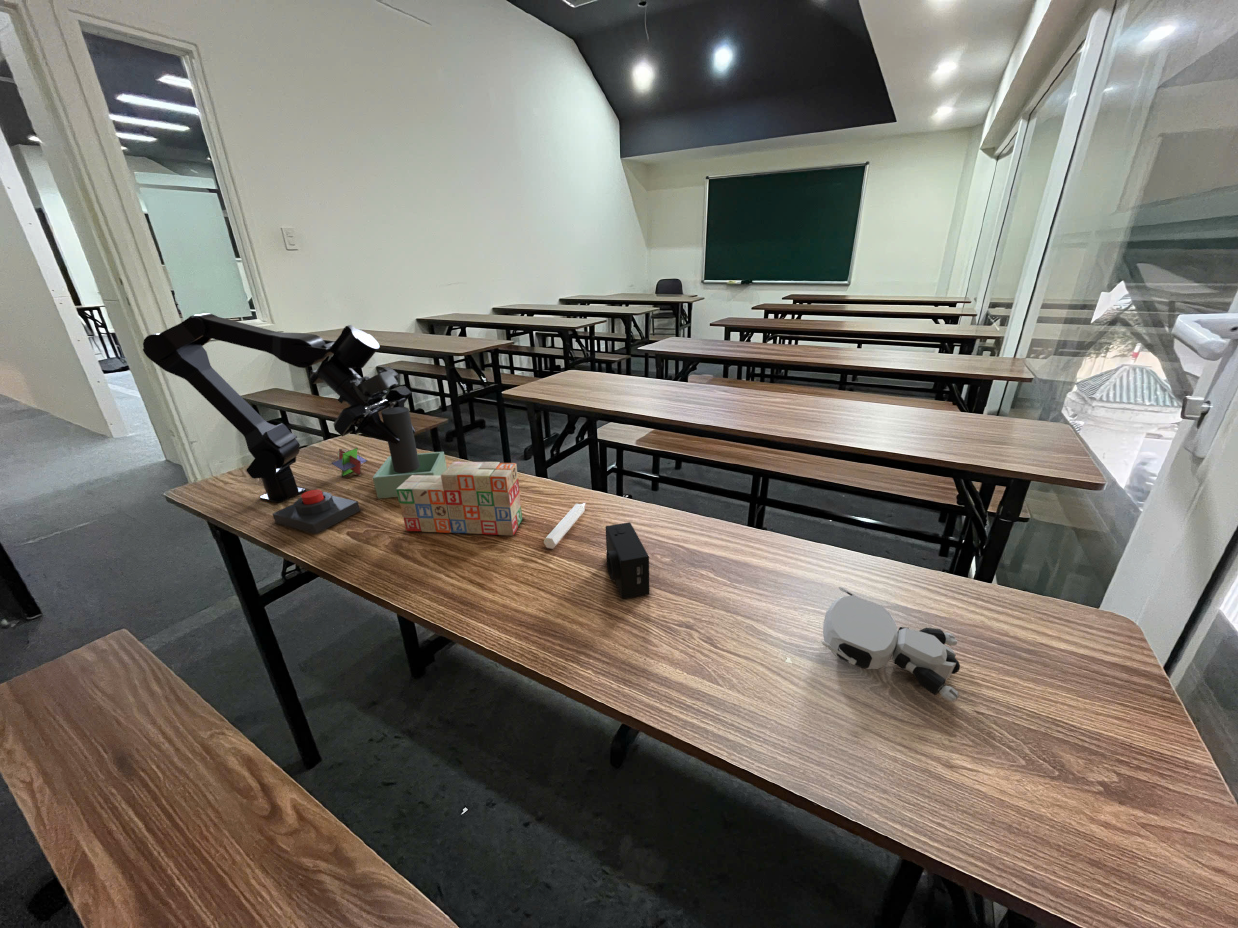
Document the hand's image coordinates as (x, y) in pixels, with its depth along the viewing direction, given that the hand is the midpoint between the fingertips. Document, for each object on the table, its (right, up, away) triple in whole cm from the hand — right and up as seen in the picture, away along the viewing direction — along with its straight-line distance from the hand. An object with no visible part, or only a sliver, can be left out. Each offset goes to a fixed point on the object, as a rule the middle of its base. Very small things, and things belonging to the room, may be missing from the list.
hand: (406, 437), depth 101 cm
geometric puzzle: (-21, -8, +17) cm, 28 cm away
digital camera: (+45, -24, -24) cm, 57 cm away
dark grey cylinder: (-1, -6, +3) cm, 7 cm away
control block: (-17, -16, -3) cm, 23 cm away
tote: (-3, -10, +11) cm, 15 cm away
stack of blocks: (+15, -18, -7) cm, 24 cm away
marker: (+35, -18, -9) cm, 40 cm away
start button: (-17, -13, -4) cm, 22 cm away
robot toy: (+78, -30, -40) cm, 93 cm away
